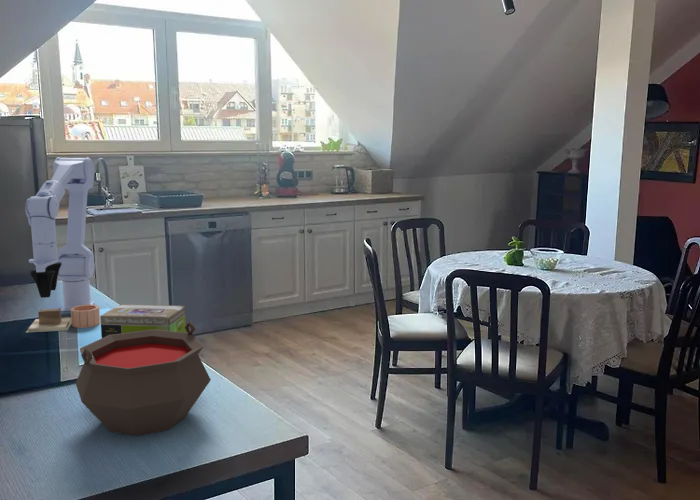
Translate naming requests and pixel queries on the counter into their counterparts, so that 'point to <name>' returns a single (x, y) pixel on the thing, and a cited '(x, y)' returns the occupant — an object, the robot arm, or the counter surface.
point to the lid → (49, 321)
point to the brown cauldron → (142, 379)
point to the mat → (52, 330)
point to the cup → (85, 316)
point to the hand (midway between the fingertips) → (48, 293)
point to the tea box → (143, 319)
